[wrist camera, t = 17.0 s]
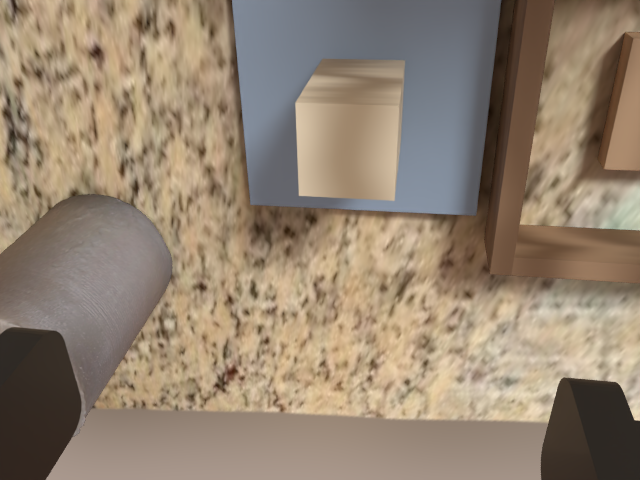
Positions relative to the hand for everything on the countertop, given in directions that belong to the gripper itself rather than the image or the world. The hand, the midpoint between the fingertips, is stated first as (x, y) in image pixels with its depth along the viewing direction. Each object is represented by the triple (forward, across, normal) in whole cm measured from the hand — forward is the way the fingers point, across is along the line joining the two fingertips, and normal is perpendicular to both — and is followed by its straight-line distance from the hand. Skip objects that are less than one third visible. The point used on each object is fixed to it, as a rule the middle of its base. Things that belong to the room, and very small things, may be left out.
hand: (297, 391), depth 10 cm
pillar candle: (+28, +19, +16) cm, 37 cm away
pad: (+27, +1, +4) cm, 28 cm away
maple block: (+26, +1, +4) cm, 27 cm away
